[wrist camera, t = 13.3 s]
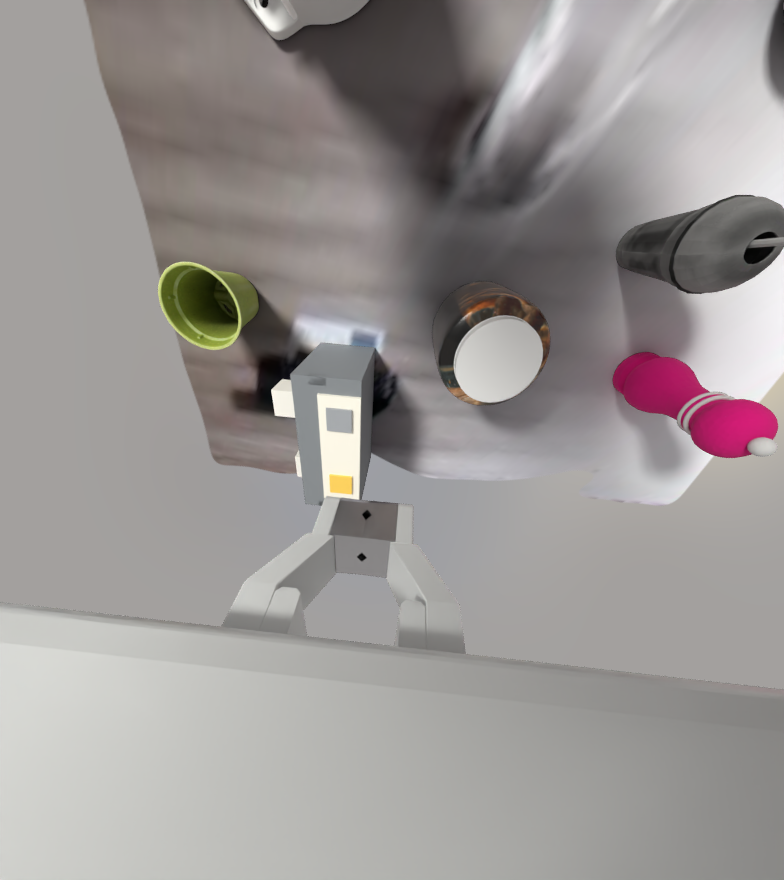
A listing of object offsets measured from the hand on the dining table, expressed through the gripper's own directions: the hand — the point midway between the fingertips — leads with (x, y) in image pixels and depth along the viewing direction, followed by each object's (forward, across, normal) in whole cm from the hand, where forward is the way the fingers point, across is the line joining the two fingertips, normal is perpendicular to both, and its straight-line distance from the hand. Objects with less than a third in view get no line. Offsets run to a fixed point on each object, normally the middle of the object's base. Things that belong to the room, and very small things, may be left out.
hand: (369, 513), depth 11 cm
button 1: (+30, +13, +10) cm, 34 cm away
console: (+37, +8, +15) cm, 41 cm away
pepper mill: (+37, -34, +5) cm, 51 cm away
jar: (+37, -10, +1) cm, 39 cm away
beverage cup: (+37, -27, -10) cm, 47 cm away
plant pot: (+37, +23, 0) cm, 44 cm away
